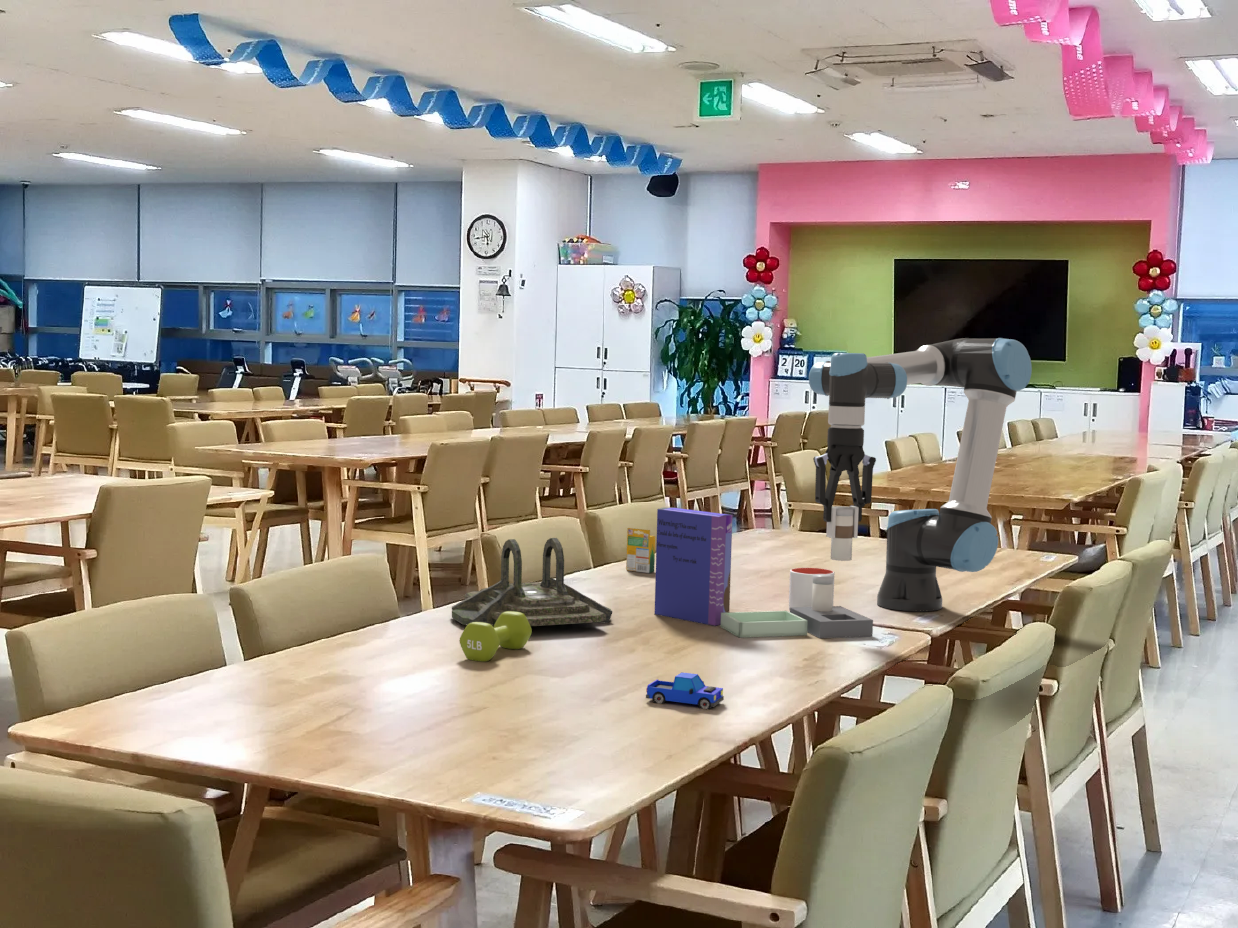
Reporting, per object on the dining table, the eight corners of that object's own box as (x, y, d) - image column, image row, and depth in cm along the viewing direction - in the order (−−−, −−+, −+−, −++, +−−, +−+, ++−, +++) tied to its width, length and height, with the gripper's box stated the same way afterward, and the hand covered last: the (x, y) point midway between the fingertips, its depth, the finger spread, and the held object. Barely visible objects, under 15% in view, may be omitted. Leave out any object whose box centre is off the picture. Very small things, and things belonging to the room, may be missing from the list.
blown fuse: (846, 557, 294) (848, 506, 293) (855, 560, 290) (857, 508, 289) (826, 557, 293) (828, 506, 292) (835, 560, 288) (837, 508, 287)
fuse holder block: (839, 621, 305) (841, 572, 305) (872, 636, 290) (874, 584, 289) (789, 623, 302) (791, 573, 301) (819, 638, 287) (821, 585, 286)
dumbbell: (491, 665, 256) (492, 626, 255) (455, 660, 259) (455, 622, 259) (534, 648, 271) (535, 612, 270) (499, 644, 274) (500, 608, 273)
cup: (831, 620, 307) (833, 575, 307) (786, 617, 309) (788, 573, 309) (833, 611, 317) (835, 568, 316) (790, 609, 319) (791, 566, 318)
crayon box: (654, 572, 368) (656, 529, 367) (649, 573, 365) (650, 530, 365) (631, 569, 372) (632, 526, 371) (625, 570, 369) (626, 527, 368)
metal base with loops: (433, 610, 308) (434, 530, 307) (573, 603, 322) (575, 526, 320) (481, 642, 276) (483, 552, 275) (635, 632, 290) (637, 547, 288)
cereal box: (729, 623, 300) (732, 514, 298) (715, 626, 297) (718, 515, 295) (668, 611, 312) (671, 506, 310) (654, 614, 308) (657, 507, 306)
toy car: (712, 713, 226) (713, 683, 226) (644, 704, 230) (644, 675, 230) (724, 704, 232) (725, 675, 232) (657, 695, 237) (658, 667, 236)
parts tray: (786, 624, 300) (786, 610, 300) (807, 635, 290) (807, 620, 289) (720, 626, 296) (720, 612, 296) (739, 637, 285) (739, 622, 285)
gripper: (875, 425, 295) (871, 534, 297) (800, 425, 290) (796, 535, 292) (892, 428, 288) (887, 539, 289) (814, 427, 283) (810, 540, 285)
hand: (841, 536), depth 291 cm, fingers closed on blown fuse, 4 cm apart
